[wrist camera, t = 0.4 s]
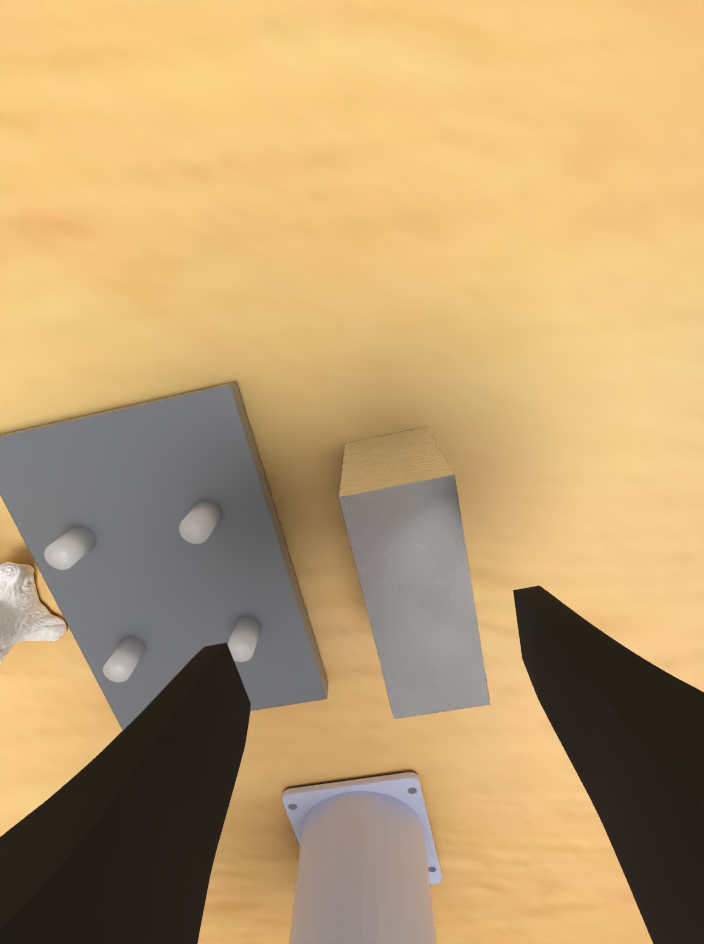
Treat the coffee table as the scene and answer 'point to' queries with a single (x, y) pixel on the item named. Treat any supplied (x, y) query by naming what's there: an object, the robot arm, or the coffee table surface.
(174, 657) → the pin tray
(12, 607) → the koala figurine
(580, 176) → the coffee table surface
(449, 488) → the block
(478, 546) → the coffee table surface
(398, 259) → the coffee table surface
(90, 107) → the coffee table surface
